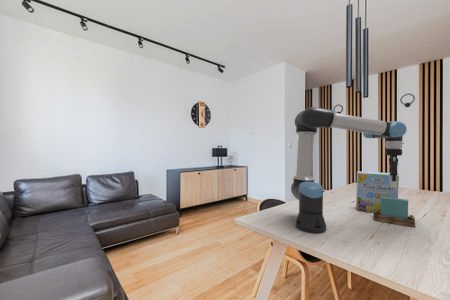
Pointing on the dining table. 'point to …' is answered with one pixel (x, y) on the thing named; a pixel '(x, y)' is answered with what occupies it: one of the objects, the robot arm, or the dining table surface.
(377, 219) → the brown wooden tray
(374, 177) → the snack box
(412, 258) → the dining table surface
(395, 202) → the door panel
